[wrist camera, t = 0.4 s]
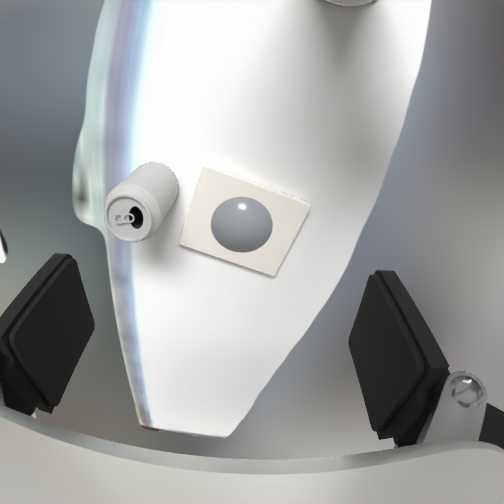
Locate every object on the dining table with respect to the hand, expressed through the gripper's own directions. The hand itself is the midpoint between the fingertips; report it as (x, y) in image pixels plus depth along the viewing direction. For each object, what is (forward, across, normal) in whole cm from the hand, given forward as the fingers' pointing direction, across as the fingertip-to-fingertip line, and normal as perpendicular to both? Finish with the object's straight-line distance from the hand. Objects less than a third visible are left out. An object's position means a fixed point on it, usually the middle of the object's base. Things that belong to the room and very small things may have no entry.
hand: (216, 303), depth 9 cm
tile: (+35, 0, +13) cm, 38 cm away
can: (+36, +13, +8) cm, 39 cm away
